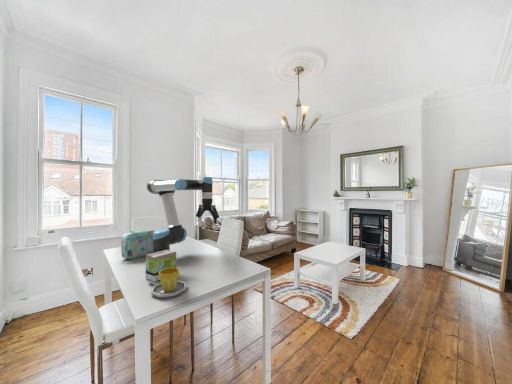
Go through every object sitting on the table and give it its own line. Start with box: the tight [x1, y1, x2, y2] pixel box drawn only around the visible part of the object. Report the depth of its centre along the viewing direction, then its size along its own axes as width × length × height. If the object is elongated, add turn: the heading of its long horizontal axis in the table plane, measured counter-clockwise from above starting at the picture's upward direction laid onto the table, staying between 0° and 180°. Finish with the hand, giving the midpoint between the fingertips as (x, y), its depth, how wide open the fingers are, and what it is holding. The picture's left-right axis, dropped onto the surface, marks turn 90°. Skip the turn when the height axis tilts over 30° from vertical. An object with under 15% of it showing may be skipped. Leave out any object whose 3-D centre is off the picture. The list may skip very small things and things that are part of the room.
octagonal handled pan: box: [148, 280, 187, 300], centre depth 118 cm, size 25×17×2 cm
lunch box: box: [120, 229, 156, 260], centre depth 176 cm, size 27×10×21 cm, turn 148°
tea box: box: [144, 249, 177, 283], centre depth 136 cm, size 15×10×15 cm
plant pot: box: [159, 267, 180, 292], centre depth 116 cm, size 10×10×10 cm
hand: (207, 227), depth 159 cm, fingers open, 13 cm apart
